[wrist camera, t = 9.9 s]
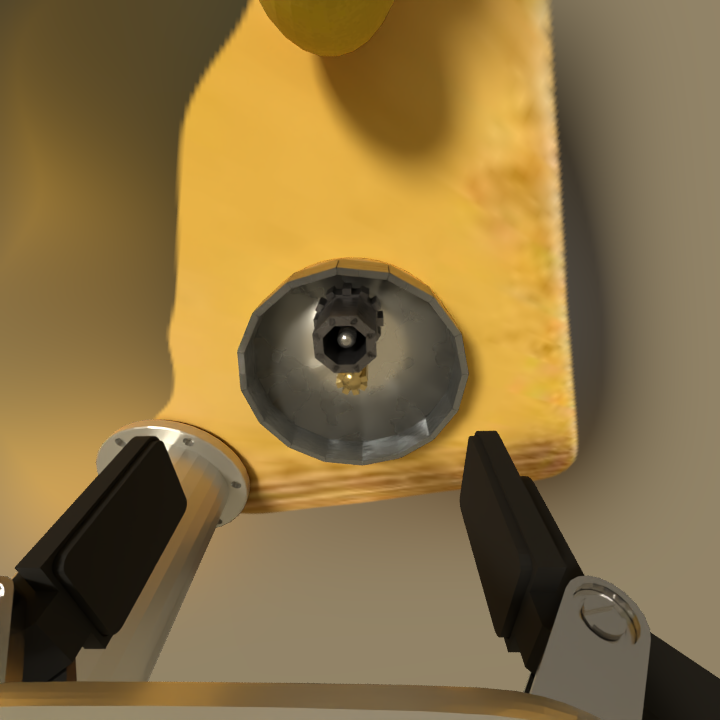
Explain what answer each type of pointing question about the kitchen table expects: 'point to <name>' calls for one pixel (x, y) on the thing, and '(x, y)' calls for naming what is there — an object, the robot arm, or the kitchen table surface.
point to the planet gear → (347, 311)
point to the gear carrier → (353, 390)
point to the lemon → (327, 22)
